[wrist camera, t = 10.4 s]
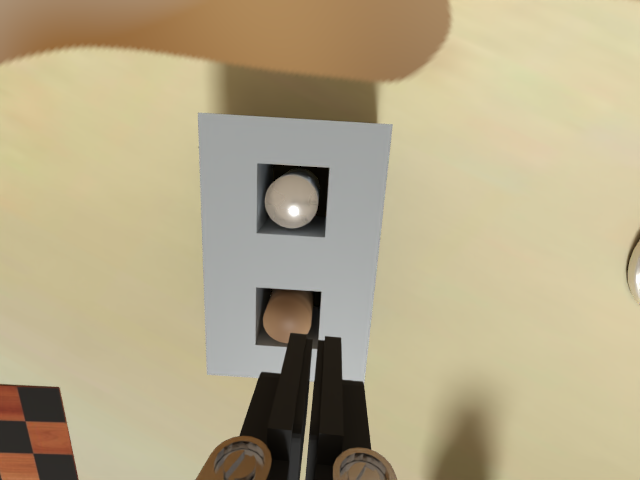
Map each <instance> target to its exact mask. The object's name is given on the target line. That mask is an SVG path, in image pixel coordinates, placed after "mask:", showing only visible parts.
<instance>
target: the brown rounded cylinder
mask: <svg viewBox="0 0 640 480" xmlns="http://www.w3.org/2000/svg"><path fill="white" fill-rule="evenodd" d="M313 298H314V291H305V290H289V289H273V292H272V294H271V297H270V300H269V302H268V305H267V308H266V310H265V313H264V316H263V325H264V328H265V330H266V332H267V333H268V335H269V336H270V337H272V338H273V339H274V340H276V341H279V342H282V343H288V341H289V337H290V333H299V334H308V332H309V330H310V327H311V319H312V309H313Z"/></svg>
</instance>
